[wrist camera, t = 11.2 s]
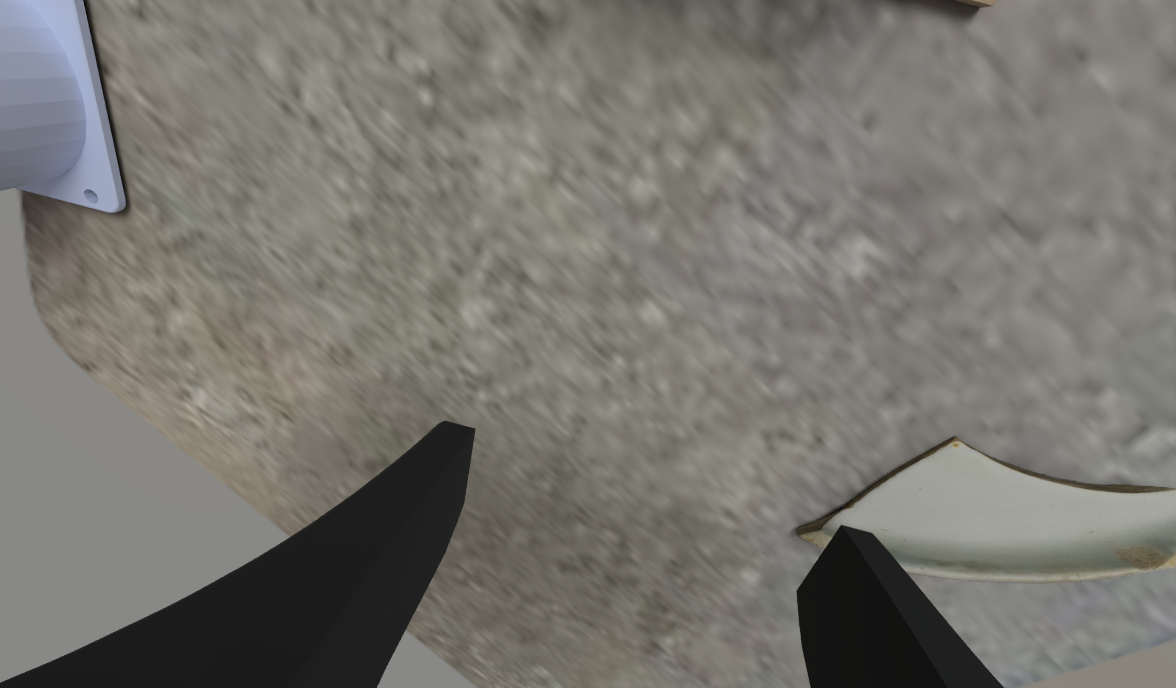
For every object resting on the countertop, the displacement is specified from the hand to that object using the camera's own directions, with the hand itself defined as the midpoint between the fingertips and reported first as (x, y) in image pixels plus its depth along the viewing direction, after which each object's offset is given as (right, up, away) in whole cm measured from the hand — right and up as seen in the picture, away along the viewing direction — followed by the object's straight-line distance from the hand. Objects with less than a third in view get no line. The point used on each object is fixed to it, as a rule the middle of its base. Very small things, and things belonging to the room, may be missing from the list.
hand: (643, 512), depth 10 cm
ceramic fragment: (+15, -3, +12) cm, 20 cm away
